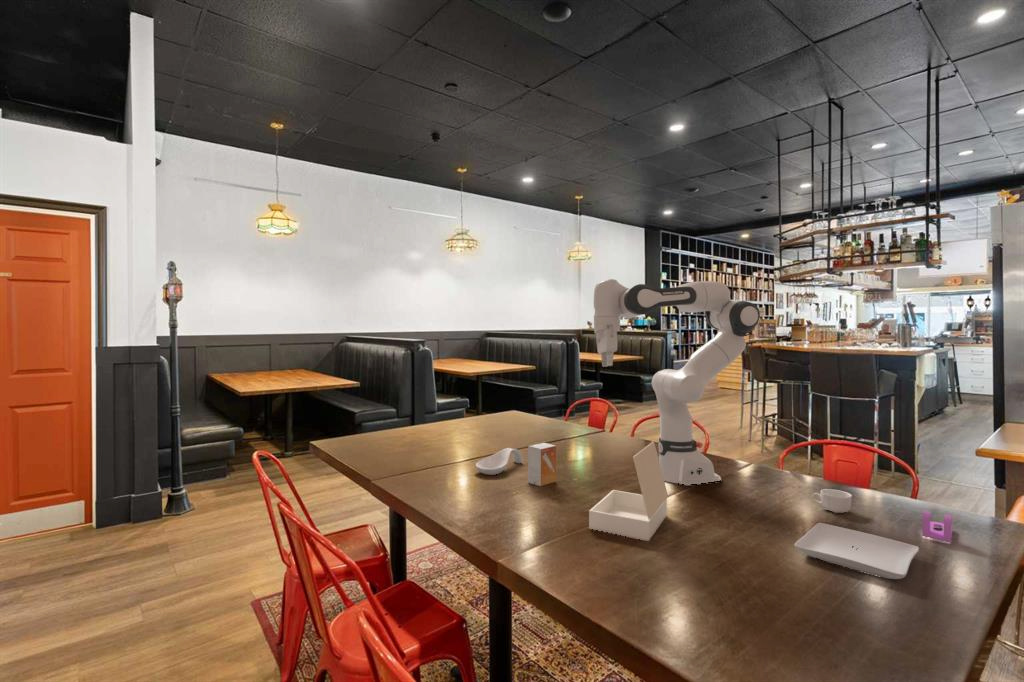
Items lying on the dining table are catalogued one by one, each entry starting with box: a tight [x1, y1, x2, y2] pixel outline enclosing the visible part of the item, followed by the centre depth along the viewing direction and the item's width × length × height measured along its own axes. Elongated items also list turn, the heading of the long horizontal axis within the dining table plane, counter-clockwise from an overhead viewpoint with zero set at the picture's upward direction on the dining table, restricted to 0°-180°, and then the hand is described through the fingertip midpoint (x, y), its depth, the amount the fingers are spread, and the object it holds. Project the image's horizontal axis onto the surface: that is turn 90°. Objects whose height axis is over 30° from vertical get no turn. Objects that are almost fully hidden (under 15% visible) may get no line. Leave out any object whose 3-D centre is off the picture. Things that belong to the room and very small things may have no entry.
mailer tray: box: [588, 489, 668, 542], centre depth 139 cm, size 16×20×5 cm
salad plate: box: [794, 522, 920, 580], centre depth 118 cm, size 21×21×3 cm
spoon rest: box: [475, 447, 524, 476], centre depth 192 cm, size 24×12×7 cm, turn 145°
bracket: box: [921, 509, 953, 544], centre depth 132 cm, size 13×6×7 cm, turn 137°
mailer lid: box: [632, 441, 669, 520], centre depth 136 cm, size 16×20×1 cm
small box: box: [527, 442, 557, 487], centre depth 176 cm, size 8×6×13 cm
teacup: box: [811, 488, 853, 513], centre depth 149 cm, size 10×8×5 cm
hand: (607, 366), depth 173 cm, fingers open, 8 cm apart
